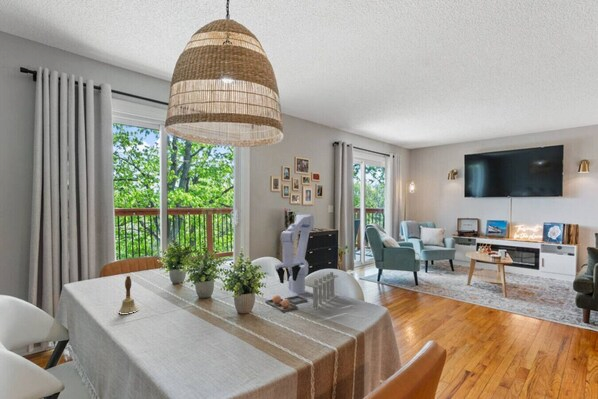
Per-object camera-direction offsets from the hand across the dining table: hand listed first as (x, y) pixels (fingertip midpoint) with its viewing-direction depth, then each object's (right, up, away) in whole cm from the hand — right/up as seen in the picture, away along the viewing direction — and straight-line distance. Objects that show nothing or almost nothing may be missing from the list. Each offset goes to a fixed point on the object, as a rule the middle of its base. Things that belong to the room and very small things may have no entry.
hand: (288, 281), depth 157 cm
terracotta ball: (-5, -9, -6) cm, 12 cm away
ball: (-1, -9, -13) cm, 16 cm away
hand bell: (-72, -10, -16) cm, 75 cm away
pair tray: (-3, -9, -10) cm, 14 cm away
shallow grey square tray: (+4, -9, -2) cm, 10 cm away
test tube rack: (+18, -10, -3) cm, 21 cm away
